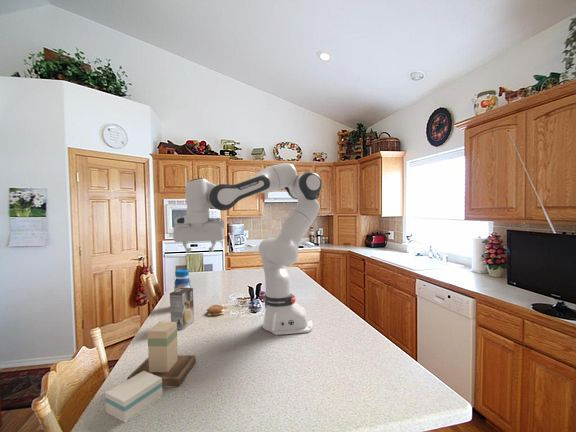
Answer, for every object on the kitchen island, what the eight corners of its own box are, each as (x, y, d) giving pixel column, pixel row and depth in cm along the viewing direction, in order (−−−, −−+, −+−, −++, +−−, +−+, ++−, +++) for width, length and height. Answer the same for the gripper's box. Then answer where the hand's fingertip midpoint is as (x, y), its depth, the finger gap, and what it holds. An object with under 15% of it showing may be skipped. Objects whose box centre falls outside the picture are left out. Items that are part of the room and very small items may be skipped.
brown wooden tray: (195, 362, 97) (195, 355, 97) (179, 386, 84) (178, 378, 84) (150, 361, 98) (150, 354, 98) (127, 385, 85) (127, 377, 85)
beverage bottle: (193, 304, 156) (192, 268, 155) (187, 309, 147) (185, 272, 147) (179, 303, 157) (178, 268, 156) (171, 309, 148) (170, 271, 148)
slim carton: (178, 360, 94) (176, 321, 94) (167, 372, 87) (166, 331, 87) (160, 359, 95) (159, 321, 94) (148, 372, 88) (147, 331, 87)
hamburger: (233, 316, 139) (233, 304, 139) (203, 319, 135) (203, 307, 135) (230, 306, 153) (230, 295, 153) (204, 309, 149) (203, 298, 149)
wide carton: (144, 388, 84) (143, 370, 84) (162, 396, 80) (162, 377, 80) (105, 412, 74) (105, 392, 74) (124, 423, 70) (124, 402, 70)
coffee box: (182, 320, 134) (181, 287, 133) (194, 321, 132) (193, 287, 132) (170, 328, 125) (169, 293, 124) (183, 329, 123) (182, 293, 123)
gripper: (225, 217, 117) (227, 250, 117) (177, 218, 117) (179, 251, 118) (221, 218, 110) (223, 252, 111) (170, 219, 111) (172, 254, 112)
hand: (200, 252), depth 115 cm, fingers open, 8 cm apart
